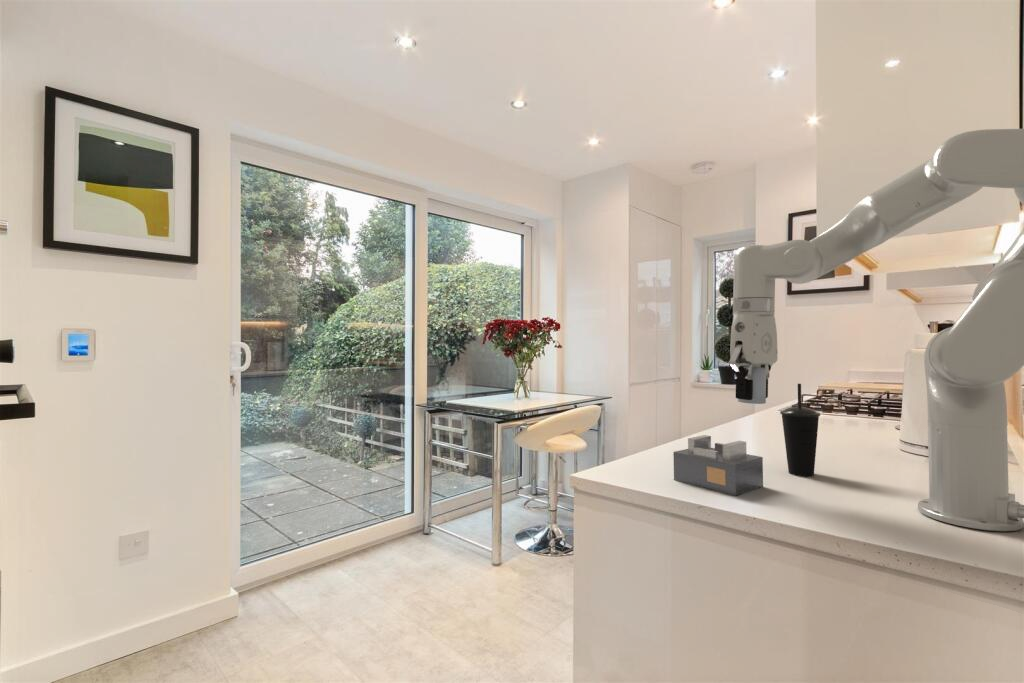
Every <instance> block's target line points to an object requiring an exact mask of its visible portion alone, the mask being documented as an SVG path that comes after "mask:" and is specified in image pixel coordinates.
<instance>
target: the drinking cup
mask: <svg viewBox="0 0 1024 683" xmlns="http://www.w3.org/2000/svg"><path fill="white" fill-rule="evenodd" d="M779 413H780V415H781V418H782V419H781V420H782V421H781V422H782V428H783V429H782V430H783V435H784V437H783V438H784V445H785V452H786V453H785V454H786V462H787V468H788V471H787V472H788V473H789V474H790V475H793V476H798V477H805V478H806V477H809V478H810V477H813V476H814V475H815V466H816V454H817V453H816V452H817V445H818V444H817V443H818V442H817V441H818V430H819V429H818V428H819V418H820V417H821V413H820V412H819V411H816V410H814V409H812V408H809V407H805V406H802V383H797V406H791V407H788V408H786V409H783V410H780V411H779Z"/></svg>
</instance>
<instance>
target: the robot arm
mask: <svg viewBox="0 0 1024 683" xmlns="http://www.w3.org/2000/svg"><path fill="white" fill-rule="evenodd" d="M983 188H994V189H995V188H998V189H1013V190H1014V193H1015V196H1016V198H1017V199H1018V201H1019V202H1020V203H1021V204H1022V206H1023V207H1024V128H996V129H995V128H993V129H992V128H990V129H977V130H971V131H965V132H962V133H958V134H955V135H954V136H951V137H949V138H948V139H947V140H945V141H944V142H943V143H941V144H940V146H938V148H937V149H936V150H935V151H934V154H933V156H932V157H931V159H928V160H926V161H925V162H924V163H921V164H920V165H918V166H916V167H915V168H913V169H911V170H910V171H908V172H906V173H904V174H903V175H901V176H899V177H897V178H896V179H894V180H892V181H891V182H889V183H887V184H885V185H884V186H882V187H880V188H879V189H877V190H875V191H873V192H871V193H869V194H868V195H867V196H865V197H863V199H861V200H859V202H858V203H856V204H855V206H853V207H852V209H851V210H850V211H848V213H847V214H846V215H845V216H844V217H843V218H842V219H840V221H838V222H837V223H835V224H834V225H833V226H832V227H830V228H829V229H827V230H825V231H824V232H822V233H821V234H819V235H818V236H816V237H814V238H812V239H811V240H806V239H792V240H787V241H783V242H778V243H772V244H769V245H764V244H761V245H760V244H758V245H757V244H756V245H755V244H754V245H748V246H747V245H745V246H741V247H740V248H738V249H737V250H736V251H735V252H734V255H733V284H732V285H733V288H732V289H733V291H732V292H733V294H732V296H733V298H732V316H733V317H732V324H731V331H730V332H731V333H730V344H729V346H730V348H729V351H730V352H729V353H730V358H729V361H728V363H729V365H730V367H731V369H732V371H733V373H734V376H733V377H734V379H735V398H736V399H737V400H738V399H744V400H752V398H753V380H750V378H751V373H752V368H753V365H761V367H763V368H766V399H767V398H768V397H769V378H770V372H771V369H772V366H773V365H774V364H775V363H777V362H778V354H779V353H778V334H777V332H778V330H777V323H776V318H775V311H776V310H775V303H776V298H775V297H776V280H778V279H780V280H781V279H782V280H786V281H788V282H789V283H792V284H796V285H800V284H801V285H803V284H807V283H810V282H813V281H815V280H817V279H818V278H821V277H823V276H825V275H826V274H828V273H830V272H832V271H834V270H836V269H837V268H840V267H841V266H843V265H845V264H847V263H849V262H851V261H852V260H854V259H855V258H857V257H859V256H861V255H862V254H864V253H867V252H868V251H870V250H872V249H874V248H876V247H878V246H880V245H882V244H884V243H885V242H887V241H889V240H890V239H892V238H894V237H895V236H897V235H899V234H901V233H903V232H905V231H906V230H908V229H910V228H912V227H914V226H916V225H918V224H919V223H922V222H923V221H926V220H927V219H929V218H930V217H933V216H934V215H935V216H936V215H937V214H939V213H940V212H942V211H945V210H946V209H948V208H950V207H952V206H954V205H955V204H958V203H960V202H961V201H963V200H965V199H967V198H969V197H971V196H973V195H974V194H976V193H977V192H978V191H981V190H982V189H983ZM923 358H924V359H923V360H924V373H925V374H924V376H925V385H926V395H927V396H926V398H927V446H928V447H927V448H928V453H927V454H928V492H929V494H928V495H929V496H928V498H926V499H925V498H924V499H921V500H919V501H918V502H917V509H918V511H919V512H920V513H921V514H923V515H924V516H926V517H929V518H930V519H933V520H937V521H940V522H943V523H947V524H951V525H953V526H959V527H963V528H969V529H976V530H982V531H989V532H990V531H993V532H1015V531H1019V530H1022V529H1024V504H1022V503H1020V501H1016V494H1015V493H1011V492H1010V491H1009V486H1010V485H1009V458H1008V457H1009V455H1008V454H1009V453H1008V452H1009V448H1008V447H1009V446H1008V406H1007V405H1008V404H1007V396H1006V395H1007V394H1006V388H1005V382H1006V381H1007V380H1009V379H1010V378H1012V377H1013V376H1014V375H1015V374H1017V373H1018V372H1019V371H1020V370H1021V369H1022V368H1023V367H1024V228H1023V229H1022V231H1021V232H1020V233H1019V234H1018V235H1017V237H1016V238H1015V240H1014V241H1013V243H1011V246H1010V247H1009V248H1008V249H1007V250H1006V252H1005V253H1004V254H1003V255H1002V256H1001V258H1000V259H998V261H997V263H995V265H994V267H992V269H991V270H990V271H989V272H988V273H987V274H986V275H985V276H984V277H983V278H982V279H981V280H980V281H979V282H978V283H977V285H976V286H975V288H974V290H973V295H972V301H971V303H970V304H969V305H968V306H967V308H965V310H964V311H963V312H962V314H961V315H960V316H959V318H958V319H957V320H956V321H955V323H954V324H953V325H952V326H950V327H947V328H945V329H943V330H940V331H939V332H937V333H936V334H934V335H933V336H932V338H930V339H929V341H928V343H927V344H926V347H925V350H924V357H923ZM744 362H748V363H744ZM744 367H747V368H746V370H745V369H744Z"/></svg>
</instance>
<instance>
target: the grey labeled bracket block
mask: <svg viewBox="0 0 1024 683" xmlns="http://www.w3.org/2000/svg"><path fill="white" fill-rule="evenodd" d="M672 453H673V455H672V456H673V480H674V481H678V482H681V483H685V484H689V485H692V486H696V487H699V488H705V489H708V490H711V491H716V492H719V493H723V494H727V495H731V496H734V497H736V496H739V495H743V494H746V493H749V492H751V491H755V490H758V489H760V488H763V487H764V466H763V462H764V459H763V456H760V455H753V454H747V441H743V440H736V441H731V442H727V443H720V442H715V443H714V447H712V436H711V435H706V434H703V435H698V436H692V437H688V438H687V448H685V449H680V450H675V451H673V452H672Z"/></svg>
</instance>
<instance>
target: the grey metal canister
mask: <svg viewBox="0 0 1024 683" xmlns="http://www.w3.org/2000/svg"><path fill="white" fill-rule="evenodd" d="M744 363H748V362H744ZM746 368H747V367H744V369H745V370H746ZM750 380H753V398H752V400H744V399H737V402H739V403H744V404H752V405H757V404H758V405H763V404H766V403H767V400H766V399H767V398H766V368H763V367H761V365H753V368H752V373H751V378H750Z"/></svg>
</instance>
